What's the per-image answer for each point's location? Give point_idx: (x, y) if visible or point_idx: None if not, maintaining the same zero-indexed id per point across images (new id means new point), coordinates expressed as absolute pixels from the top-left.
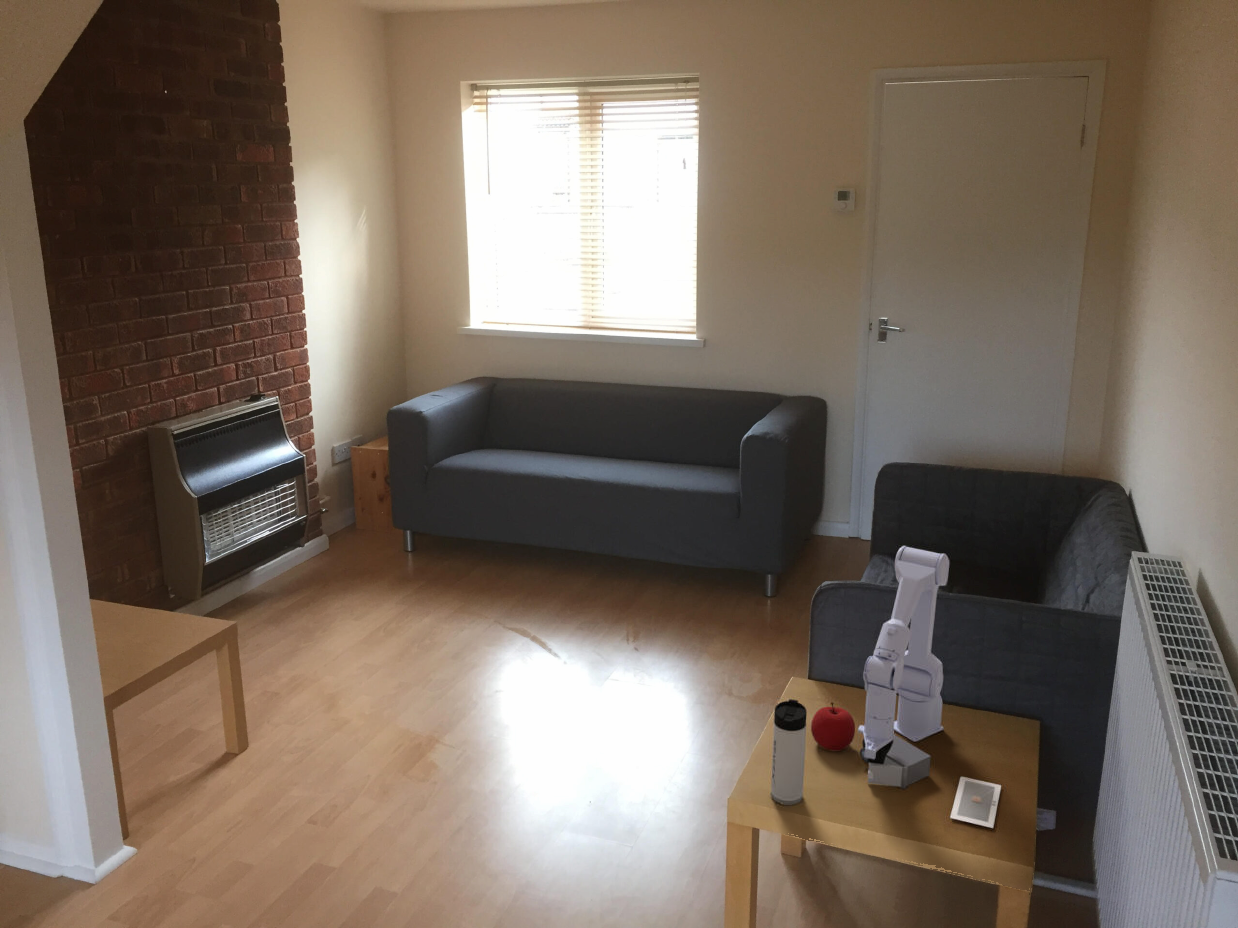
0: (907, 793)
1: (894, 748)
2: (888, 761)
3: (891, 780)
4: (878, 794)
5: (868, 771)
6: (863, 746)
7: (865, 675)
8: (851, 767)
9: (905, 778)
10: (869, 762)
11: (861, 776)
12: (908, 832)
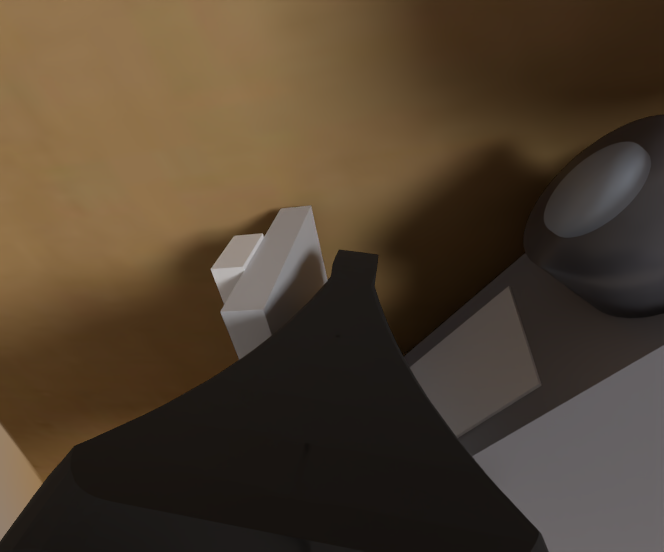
0: None
1: (628, 496)
2: (458, 405)
3: None
4: (206, 275)
5: (223, 269)
6: (71, 452)
7: None
8: (516, 14)
9: None
10: (318, 292)
11: (379, 140)
12: (11, 396)
